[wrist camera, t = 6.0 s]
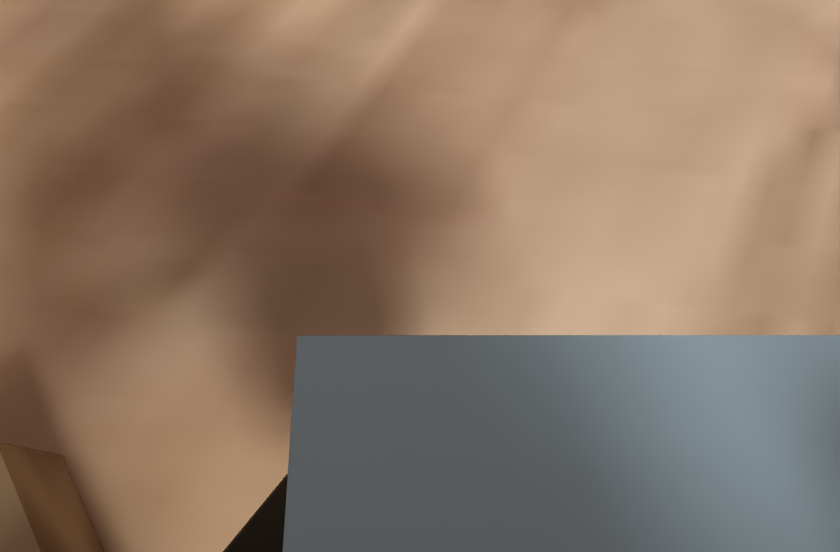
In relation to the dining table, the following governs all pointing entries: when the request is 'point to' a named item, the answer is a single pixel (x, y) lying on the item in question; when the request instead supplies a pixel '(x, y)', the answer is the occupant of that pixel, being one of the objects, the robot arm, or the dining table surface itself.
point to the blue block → (564, 443)
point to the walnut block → (41, 505)
